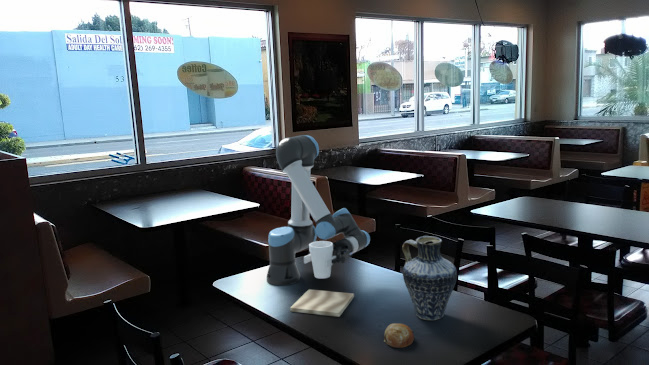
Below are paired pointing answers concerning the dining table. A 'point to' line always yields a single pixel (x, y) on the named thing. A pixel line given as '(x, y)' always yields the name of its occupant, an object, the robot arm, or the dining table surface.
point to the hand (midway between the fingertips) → (315, 262)
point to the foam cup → (321, 257)
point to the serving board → (322, 302)
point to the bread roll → (398, 335)
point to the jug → (428, 277)
